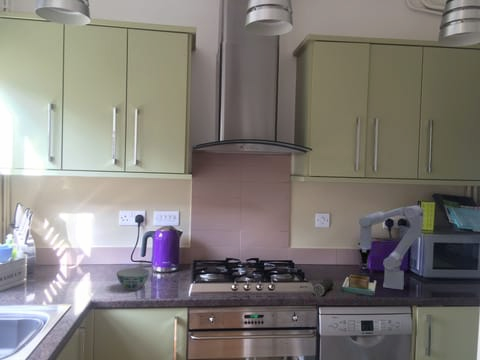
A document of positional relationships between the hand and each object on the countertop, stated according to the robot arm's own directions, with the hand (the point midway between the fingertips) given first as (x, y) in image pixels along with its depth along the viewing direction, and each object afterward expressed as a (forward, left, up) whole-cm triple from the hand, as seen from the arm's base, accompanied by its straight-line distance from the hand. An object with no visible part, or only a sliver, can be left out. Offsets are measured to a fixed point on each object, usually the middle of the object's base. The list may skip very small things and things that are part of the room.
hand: (364, 263), depth 210 cm
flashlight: (+16, +30, -10) cm, 36 cm away
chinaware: (+100, +68, -10) cm, 121 cm away
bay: (+1, +15, -9) cm, 18 cm away
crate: (+1, +20, -9) cm, 22 cm away
